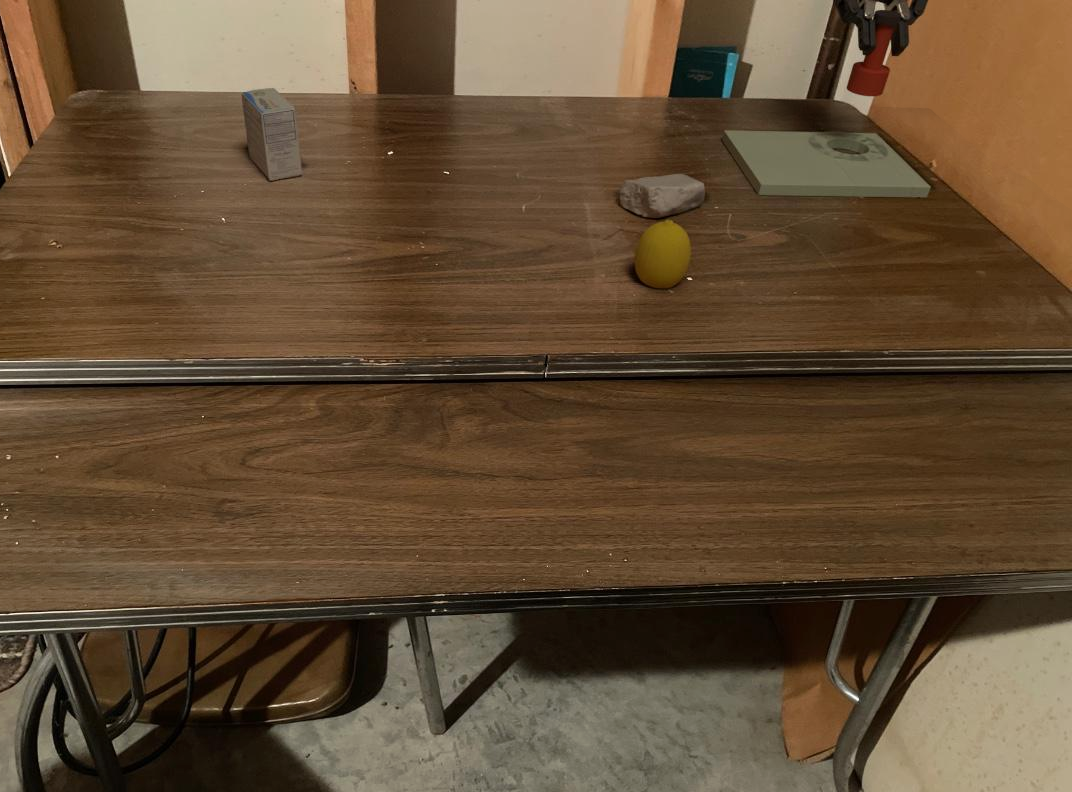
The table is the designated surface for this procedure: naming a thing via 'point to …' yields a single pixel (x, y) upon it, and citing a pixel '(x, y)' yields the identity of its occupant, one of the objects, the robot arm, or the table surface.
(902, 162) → the drain plate
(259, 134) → the medicine box
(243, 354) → the table surface
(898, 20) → the stopper
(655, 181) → the grey chipped rock
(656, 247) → the lemon
